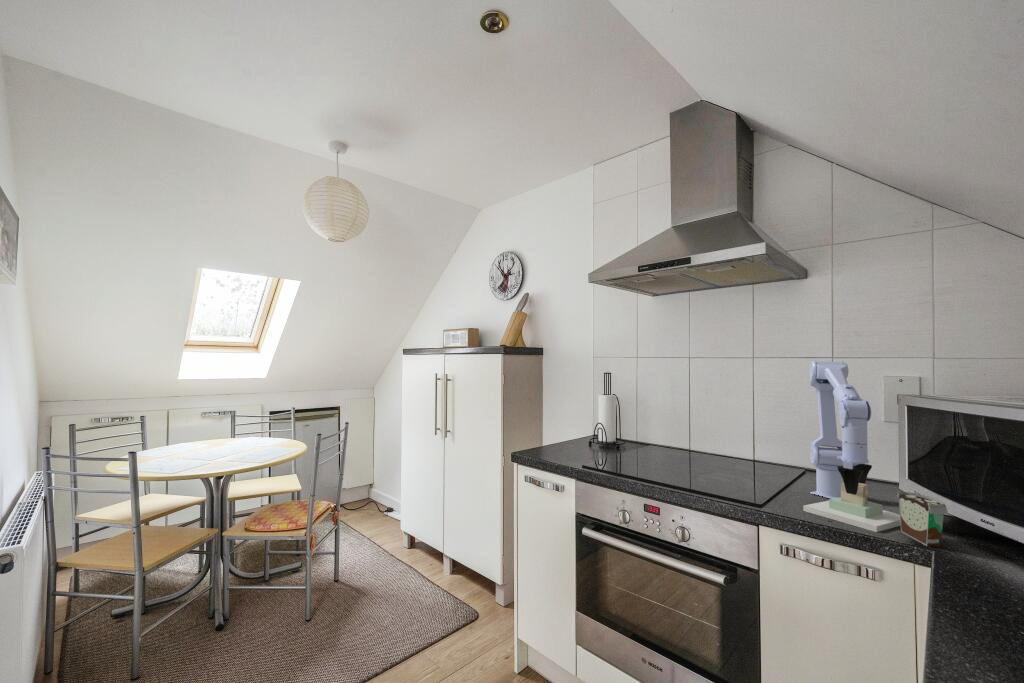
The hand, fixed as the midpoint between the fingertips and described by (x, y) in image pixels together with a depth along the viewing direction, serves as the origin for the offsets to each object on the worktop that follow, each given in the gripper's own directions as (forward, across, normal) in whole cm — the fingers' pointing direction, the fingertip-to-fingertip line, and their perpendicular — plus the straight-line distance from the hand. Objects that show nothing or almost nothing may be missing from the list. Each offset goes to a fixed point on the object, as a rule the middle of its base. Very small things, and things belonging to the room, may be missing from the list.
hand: (855, 491), depth 126 cm
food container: (+7, +7, +16) cm, 19 cm away
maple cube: (+3, 0, 0) cm, 3 cm away
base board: (+7, 0, 0) cm, 7 cm away
